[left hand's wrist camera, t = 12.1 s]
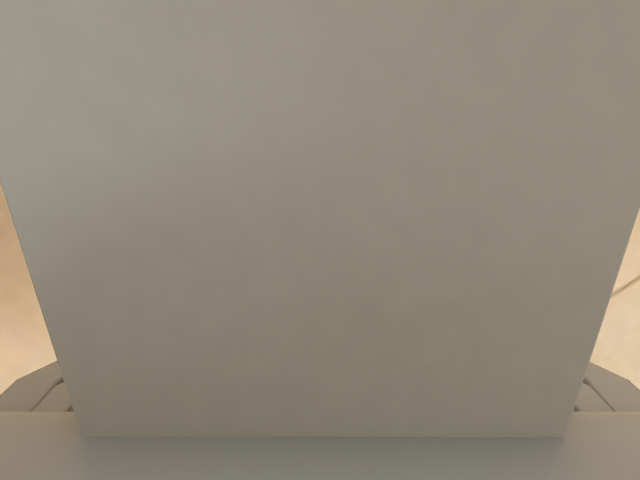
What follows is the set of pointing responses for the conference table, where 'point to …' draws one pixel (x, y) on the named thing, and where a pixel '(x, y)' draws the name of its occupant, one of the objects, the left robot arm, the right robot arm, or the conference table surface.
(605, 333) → the conference table surface
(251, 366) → the box
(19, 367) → the conference table surface
